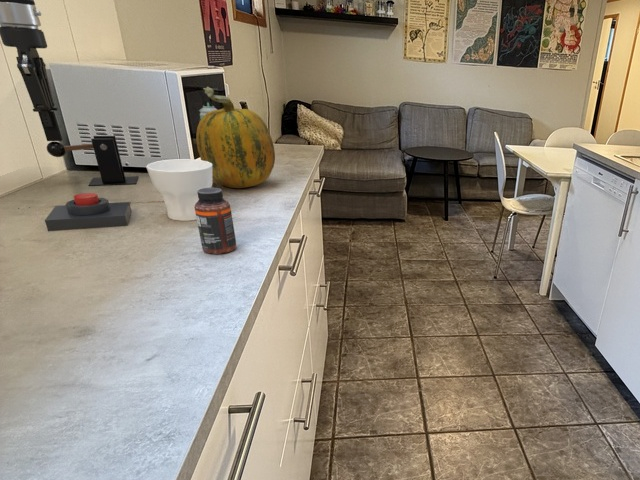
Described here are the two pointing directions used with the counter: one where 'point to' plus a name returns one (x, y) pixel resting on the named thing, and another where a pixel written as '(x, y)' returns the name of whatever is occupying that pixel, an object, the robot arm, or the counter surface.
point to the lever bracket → (109, 163)
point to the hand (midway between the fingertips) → (54, 140)
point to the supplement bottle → (214, 221)
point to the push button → (86, 199)
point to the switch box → (88, 215)
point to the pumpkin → (235, 144)
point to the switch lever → (64, 148)
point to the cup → (180, 184)
